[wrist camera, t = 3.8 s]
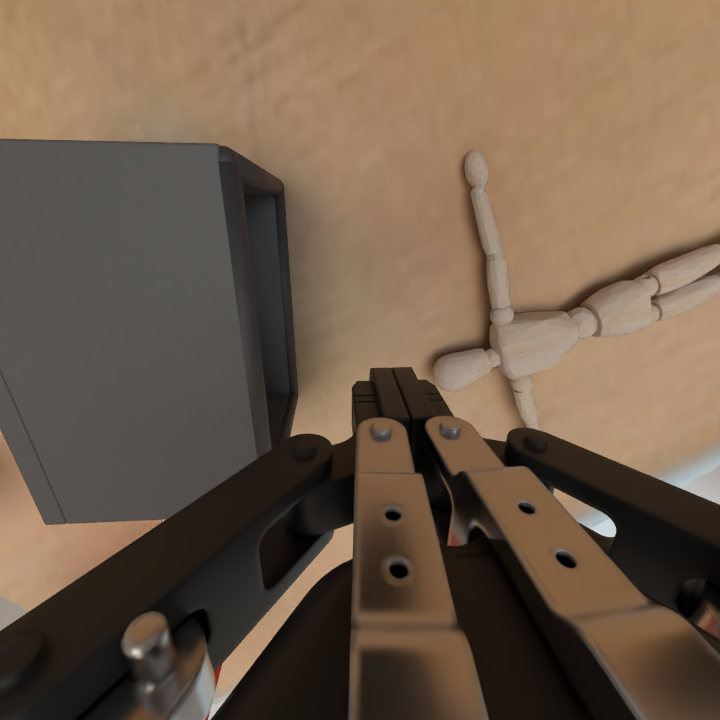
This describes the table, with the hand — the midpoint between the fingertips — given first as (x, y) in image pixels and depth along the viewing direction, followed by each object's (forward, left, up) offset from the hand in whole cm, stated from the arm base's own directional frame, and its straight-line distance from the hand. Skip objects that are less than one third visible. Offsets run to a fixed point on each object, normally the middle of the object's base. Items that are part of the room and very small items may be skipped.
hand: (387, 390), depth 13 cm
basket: (0, -11, -14) cm, 18 cm away
